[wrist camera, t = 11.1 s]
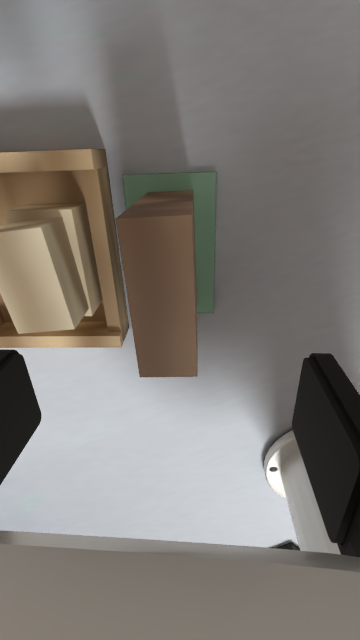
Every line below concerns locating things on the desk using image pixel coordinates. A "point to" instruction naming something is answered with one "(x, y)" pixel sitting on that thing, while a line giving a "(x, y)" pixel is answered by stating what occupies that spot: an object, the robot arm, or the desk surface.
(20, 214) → the offcut low
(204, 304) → the pad
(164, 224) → the walnut board
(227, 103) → the desk surface
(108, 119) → the desk surface
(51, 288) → the offcut top
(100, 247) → the rack
